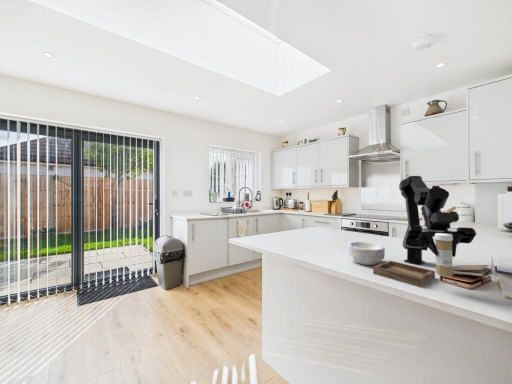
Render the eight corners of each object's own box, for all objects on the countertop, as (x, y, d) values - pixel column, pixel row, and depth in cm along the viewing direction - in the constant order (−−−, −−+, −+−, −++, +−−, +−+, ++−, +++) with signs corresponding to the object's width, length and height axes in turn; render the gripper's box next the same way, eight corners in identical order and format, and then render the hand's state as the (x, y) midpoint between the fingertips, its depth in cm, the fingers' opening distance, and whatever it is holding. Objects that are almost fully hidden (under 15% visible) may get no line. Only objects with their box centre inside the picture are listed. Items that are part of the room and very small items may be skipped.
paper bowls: (389, 268, 99) (389, 249, 99) (351, 266, 102) (351, 248, 102) (378, 258, 114) (378, 242, 114) (345, 256, 117) (345, 240, 117)
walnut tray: (390, 266, 101) (390, 260, 101) (434, 278, 88) (434, 271, 88) (373, 273, 93) (373, 266, 93) (419, 286, 80) (419, 279, 80)
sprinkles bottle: (450, 273, 78) (450, 233, 78) (454, 278, 74) (454, 235, 74) (433, 271, 80) (433, 232, 80) (436, 275, 76) (436, 234, 76)
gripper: (407, 202, 83) (417, 239, 73) (473, 203, 77) (493, 244, 67) (402, 221, 91) (410, 257, 81) (461, 223, 85) (478, 263, 74)
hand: (445, 255), depth 75 cm, fingers closed on sprinkles bottle, 4 cm apart
